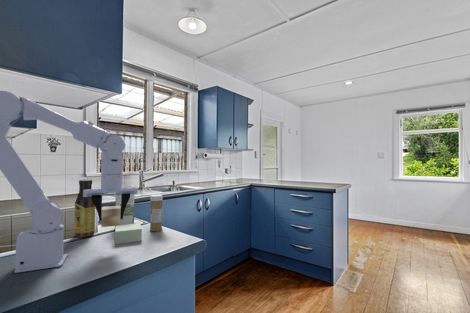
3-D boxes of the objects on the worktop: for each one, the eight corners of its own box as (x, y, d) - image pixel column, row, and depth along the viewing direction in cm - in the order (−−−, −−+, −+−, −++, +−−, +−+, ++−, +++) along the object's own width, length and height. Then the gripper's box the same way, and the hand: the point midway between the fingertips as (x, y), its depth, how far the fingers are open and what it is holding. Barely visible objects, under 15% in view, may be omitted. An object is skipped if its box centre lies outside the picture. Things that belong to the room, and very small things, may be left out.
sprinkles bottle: (151, 228, 98) (151, 194, 98) (163, 228, 98) (163, 194, 98) (148, 231, 93) (148, 196, 93) (161, 231, 94) (161, 195, 94)
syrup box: (129, 225, 103) (130, 189, 103) (134, 228, 98) (134, 191, 98) (114, 227, 99) (115, 190, 99) (118, 230, 94) (119, 192, 94)
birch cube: (101, 227, 72) (101, 209, 72) (102, 223, 76) (102, 206, 76) (120, 225, 74) (120, 208, 74) (120, 221, 78) (120, 205, 78)
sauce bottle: (73, 234, 89) (74, 179, 89) (93, 231, 93) (93, 178, 93) (75, 239, 84) (75, 180, 84) (96, 236, 88) (96, 179, 88)
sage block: (115, 244, 80) (115, 231, 80) (115, 236, 87) (115, 225, 87) (141, 240, 83) (141, 228, 83) (139, 234, 91) (140, 223, 91)
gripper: (81, 175, 68) (81, 225, 68) (138, 174, 74) (137, 220, 74) (85, 174, 75) (84, 219, 75) (137, 173, 81) (136, 215, 81)
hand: (111, 219), depth 75 cm, fingers closed on birch cube, 5 cm apart
